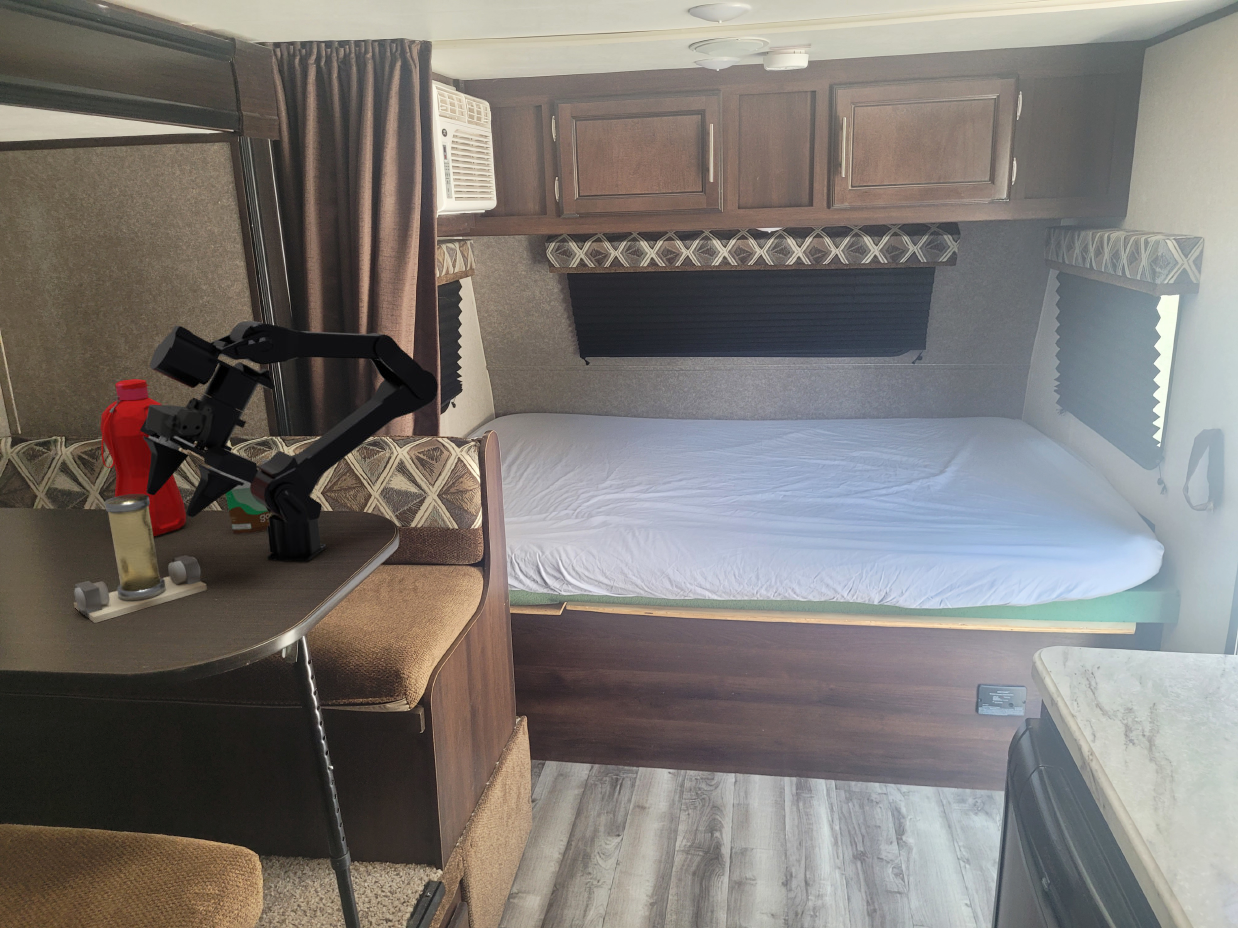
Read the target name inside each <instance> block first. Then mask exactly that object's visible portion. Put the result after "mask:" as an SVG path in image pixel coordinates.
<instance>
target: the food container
mask: <svg viewBox="0 0 1238 928" xmlns="http://www.w3.org/2000/svg"><path fill="white" fill-rule="evenodd" d="M269 460H270V459H267V458H266V459H265V458H264V459H263V458H261V465H262V464H264V463H266V462H268V461H269ZM257 469H258V471H259V470H260V469H259V468H257ZM241 481H242V482H244V485H243V486H240V485H238V486H237V487H235V488H234V489H232V490H230V491H229V492H227V493H226V494H225V498H226V504H227V508H228V514H229V519H230V524H231V528H232V532H233V533H232V535H233V534H235V535H237V534H239V535H240V534H252V533H253V534H254V533H259V532H264V531H267V527H268V526H269V517H270V516H272V515H274V514H273V513H270V512H268V511H267V509H266V507H265V506H264V505H263V504H261V503H259V502H258V501H257V500H256V499H254V497H253V495H252V494H251V489H250V485H251V483H249V482H247V481H244V480H242V479H241Z"/></svg>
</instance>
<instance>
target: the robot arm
mask: <svg viewBox="0 0 1238 928" xmlns="http://www.w3.org/2000/svg"><path fill="white" fill-rule="evenodd" d="M220 356H221V357H225V358H227V359H231V360H235V361H240V360H244V361H247V362H250V363H254V364H259V365H272V364H277V363H284V362H290V361H292V360H296V359H302V358H303V359H304V358H321V359H322V358H325V359H326V358H327V359H331V358H333V359H365V360H370V361H371V363H372V365H373V366H374V368H375V369H376V371H377V373H378V375H380V377H381V378H382V379H383V380H382V381H381V383H379V386H378V387H377V389H376V392H375V393H374V395H373V397H371V399H370V400H367V402H366V403H364V404H363V405H361V406H360V407H359V408H358V409H356V410H355V411H353V412H352V413H351V414H349V415H348V416H347V417H345V418H344V419H343V420H341V421H340V422H339V423H338V424H336V425H335V426H333V427H332V428H331V429H330V430H328V431H327V432H326V433H324V434H323V435H321V436H320V437H319V438H317V439H316V440H315V441H313V442H312V443H311V444H310V445H308V446H307V447H306V448H305V449H303V450H302V451H300V452H298V453H295V454H292V455H290V454H288V453H286V452H284V451H282V450H279V451H277V452H276V453H274V455H273V456H271V458H270V459H268V460H269V461H268V462H266V463H264V464H262V463H261V464H258V465H257V463H256V462H255V461H253V460H251V459H250V458H249V459H248V458H247V457H244V456H243V455H240V454H237V453H236V452H233V451H232V449H233V447H231V446H229V445H228V443H229V441H230V439H231V438H232V435H233V433H235V429H236V428H237V427H240V428H242V429H244V427H245V425H246V423H247V421H245V420H244V419H241V418H242V416H244V415H243V414H244V412H245V411H246V409H247V407H248V405H249V403H250V401H251V400H252V398H253V396H254V394H255V393H256V390H257V388H258V386H261V387H263V388H266V389H268V390H270V391H271V390H274V389H275V384H274V382H273V380H272V378H271V371H270V370H269V369H266V368H261V369H260V370H258V369H255V368H253V367H251V366H249V365H247V364H245V363H243V362H236V363H235V364H234V365H231V364H229V363H227V362H225V361H223V360H221V359H219V357H220ZM149 368H150V370H153V371H154V372H157V373H158V374H161V375H163V376H165V377H168V378H169V379H172V380H173V381H176V382H178V383H180V384H182V385H184V386H185V387H186V386H187V387H188V388H191V389H194V388H196V387H198V386H199V385H202V386H205V385H207V384H208V385H207V386H206V388H205V389H204V391H203V394H202V395H201V397H200V399H198V398H196V397H192V399H189V401H188V402H187V405H186V406H179V405H167V404H161V405H149V409H148V415H147V419H146V420H145V422H144V424H143V426H142V427H141V429H140V431H141V432H143V433H145V434H147V435H149V438H148V437H146V436H144V440H145V441H146V442H147V444H148V446H149V448H150V450H151V464H150V471H149V477H148V484H147V491H146V492H147V493H148V494H151V495H155V494H156V493H157V492H158V491H159V490H160V489H161V488H162V486H163V485H164V484H165V483H166V482H167V481H168V479H169V478H170V477H171V476H172V475H173V476H174V473H175V472H176V471H177V469H179V467H181V465H182V464H183V463H184V461H186V459H187V458H188V457H189V454H188V453H186V452H184V451H190V452H192V453H193V454H196V455H197V456H200V457H202V458H203V460H204V464H205V465H206V466H205V465H204V464H203V465H202V464H200V463H198V470H199V476H200V479H199V481H198V483H197V486H196V488H195V491H194V493H193V495H192V497H191V498H190V499H191V500H190V502H189V503H188V507H187V509H186V511H185V513H186V517H187V516H188V517H190V518H194V517H196V516H198V515H199V514H200V513H201V512H203V510H205V509H206V508H208V507H209V506H210V505H211V504H213V503H214V502H216V501H217V500H218V499H220V498H221V497H222V496H224V495H226V493H227V492H229V491H230V490H232V489H234V488H235V487H237V486H238V485H240V486H243V485H244V482H242V481H241V479H242V480H244V481H247V482H249V483H251V485H250V489H251V494H252V495H253V497H254V499H256V500H257V501H258V502H259V503H261V504H263V505H264V506H265V507H266V509H267V511H268V512H270V513H273V514H274V515H272V516H270V517H269V526H268V527H267V530H266V531H267V538H268V549H269V552H270V554H269V555H267V556H266V559H267V560H268V561H286V562H287V561H289V562H308V561H310V560H312V559H313V558H314V557H316V556H317V555H319V554H320V553H321V552H322V551H323V550H325V549H326V548H327V545H326V543H321V536H320V535H321V534H320V526H319V525H320V524H319V518H320V514H321V512H322V507H323V505H322V503H320V502H318V501H317V500H316V499H314V498H313V497H312V496H310V495H311V494H312V493H313V492H314V489H315V487H316V485H317V484H318V482H319V481H320V479H321V477H322V476H323V475H324V474H325V473H327V472H328V471H329V470H330V469H331V468H333V467H334V466H335V465H336V464H338V463H339V462H340V461H342V460H344V459H345V458H346V457H347V456H348V455H349V454H351V453H352V452H353V451H355V450H356V449H357V448H358V447H360V446H361V445H363V444H364V443H365V442H366V441H368V440H369V439H370V438H371V437H373V436H374V435H375V434H377V433H378V432H379V431H380V430H382V429H383V428H384V427H386V426H387V425H388V424H389V423H391V422H392V421H393V420H395V419H397V418H401V417H404V416H406V415H407V416H408V415H411V414H413V413H415V412H417V411H419V410H421V409H423V408H424V407H427V406H428V405H430V404H431V403H432V402H434V401H435V400H436V398H437V396H438V389H439V387H438V386H439V385H438V381H437V378H436V376H435V375H434V374H433V373H432V372H431V371H428V370H425V369H424V368H422V366H421V365H420V364H419V363H418V362H417V361H416V360H415V359H413V357H411V356H410V355H409V354H408V353H407V352H405V351H404V350H403V349H402V348H401V347H400V345H399V344H398V343H397V342H396V341H395V340H394V338H393V337H391V336H390V335H387V334H383V333H377V332H372V333H350V332H349V333H348V332H346V333H345V332H328V331H327V332H326V331H325V332H324V331H304V330H296V329H292V328H287V327H284V326H280V325H276V324H271V323H270V324H269V323H267V322H266V323H265V322H261V321H253V320H242V321H240V322H238V323H237V324H236V325H235V326H234V327H233V328H232V330H231V332H230V333H229V334H226V335H225V336H222V337H219V338H218V339H215V340H213V341H207V340H206V339H204V338H202V337H200V336H197V335H196V334H194V333H193V332H192V331H191V330H189V329H187V328H186V327H184V326H181V325H177V324H176V325H174V327H173V329H172V331H171V332H170V333H168V334H167V335H166V337H164V339H163V340H162V341H161V343H158V344H157V346H156V349H155V350H154V352H153V354H152V357H151V359H150V364H149ZM195 442H196V444H195ZM180 449H182V450H184V451H182V450H180ZM207 466H209V467H207ZM257 468H259V469H260V470H259V471H258V469H257Z"/></svg>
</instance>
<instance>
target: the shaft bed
mask: <svg viewBox="0 0 1238 928" xmlns="http://www.w3.org/2000/svg"><path fill="white" fill-rule="evenodd" d="M198 561H199V560H198V559H196V557H194V556H189V555H186V554H185V555H181V556H177V557H174V561H171V562H170V563H169V564H168V566H167V568H168V575H169V576H165V577H162V578H163V579H164V581H165V587H166V590H165V592H163V593H162V594H160V595H158V596H156V597H153V598H150V599H146V600H141V601H122V600H120V599H119V598H118V593H117V590H115V591H111V592H109V589H108V587H107V585H106V583H105V581H102V580H101V581H98V582H97V581H96V582H94V583H92V582H91V581H90V580H87V581H86V580H85V581H81V582H78V583H74V592H73V595H74V598H75V599H74V600H75V601H74V602H73V606H74V609H75V608H76V609H77V610H78V611H77V610H76V609H75V610H76V611H77V612H79V611H80V612H81V613H80V612H79V613H80V614H81V615H83V616H84V615H85V616H84V617H86V618H87V619H88V618H89V620H90V621H91V622H93V623H94V624H96V623H100V622H103V621H106V620H110V619H112V618H116V617H120V616H123V615H126V614H130V613H133V612H137V611H140V610H144V609H147V608H150V607H153V606H158V605H160V604H163V603H167V602H171V601H174V600H178V599H181V598H185V597H187V596H188V597H189V596H190V595H191V596H192V595H195V594H198V593H200V592H201V593H202V592H205V591H208V589H207V588H208V587H207V584H206V583H204V582H202V581H201V574H202V573H201V572H202V571H201V567H200V564H199V562H198Z"/></svg>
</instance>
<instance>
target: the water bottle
mask: <svg viewBox="0 0 1238 928" xmlns="http://www.w3.org/2000/svg"><path fill="white" fill-rule="evenodd" d="M149 386H150V384H147V380H144V379H138V378H133V379H125V380H123V379H122V380H120V381H117V382H116V383H115V389H116V395H115V401H113V402H112V403H110V404H109V405H108V406H107V407H106V408H105V409H104V410H103V412H102V413H101V418H100V427H99V428H100V432H101V448H100V449H101V450H100V451H101V459H102V460H101V461H102V464H103V465H104V467H105V468H108V469H111V468H113V467H114V470H115V474H116V475H115V487H114V489H115V491H114V497H117V496H122V495H129V494H145V495H148V496H149V502H150V505H149V506H148V507H149V513H150V520H151V526H152V532H153V538H154V537H157V536H161V535H162V534H166V533H169V532H172V531H176V530H180V529H181V528H182V527H183V526H184V525H185V524H186V523H187V522H186V520H187V515H186V508H185V503H184V499H183V496H182V495H181V492H180V489H179V486H178V484H177V481H176V479H175V476H174V474H173V475H172V476H171V477H170V478H169V479H168V481H167V482H166V483H165V484H164V485H163V486H162V488H161V489H160V490H159V491H158V492H157V493H156V494H155V495H151V494H148V493H147V492H146V491H147V484H148V477H149V471H150V464H151V450H150V448H149V446H148V444H147V442H146V441H145V440H144V436H146V437H148V438H149V435H147V434H145V433H143V432H141V431H140V429H141V427H142V426H143V424H144V422H145V420H146V419H147V415H148V409H149V405H162V403H160V402H158V401H156V400H154V399H152V398H150V397H149V391H148V390H149V389H148V387H149ZM104 444H105V446H106V448H107V451H108V454H109V455H110V458H111V460H112V464H111V465H110V466H107V463H106V461H105V457H104Z"/></svg>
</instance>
